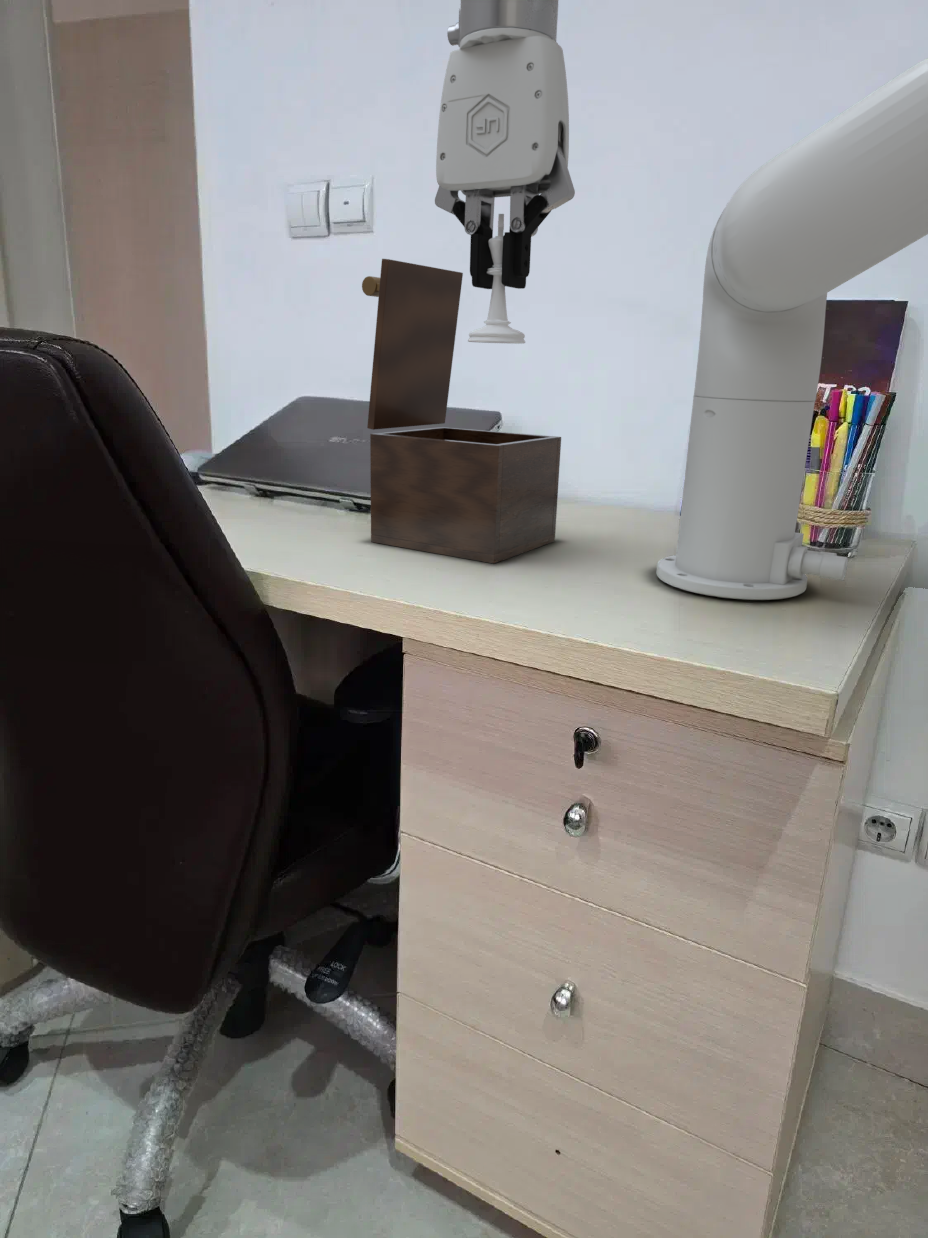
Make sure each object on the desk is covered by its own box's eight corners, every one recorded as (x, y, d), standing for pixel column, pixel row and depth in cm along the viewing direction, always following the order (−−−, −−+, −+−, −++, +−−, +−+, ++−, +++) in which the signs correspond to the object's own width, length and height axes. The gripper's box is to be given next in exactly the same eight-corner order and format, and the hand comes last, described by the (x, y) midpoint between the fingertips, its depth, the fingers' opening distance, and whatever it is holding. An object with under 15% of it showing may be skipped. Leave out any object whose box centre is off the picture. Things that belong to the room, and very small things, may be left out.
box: (555, 541, 87) (561, 436, 84) (494, 563, 77) (498, 445, 73) (440, 523, 94) (442, 426, 91) (370, 541, 84) (370, 433, 81)
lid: (463, 272, 85) (419, 267, 88) (388, 258, 75) (341, 253, 78) (445, 423, 91) (404, 414, 93) (373, 429, 81) (329, 419, 83)
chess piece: (525, 343, 73) (531, 219, 70) (525, 342, 68) (531, 209, 65) (469, 342, 73) (473, 218, 70) (466, 340, 69) (469, 208, 66)
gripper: (395, 32, 65) (395, 285, 70) (585, -6, 57) (567, 281, 63) (446, 62, 71) (442, 292, 77) (623, 31, 63) (604, 289, 69)
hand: (498, 285), depth 70 cm, fingers closed on chess piece
